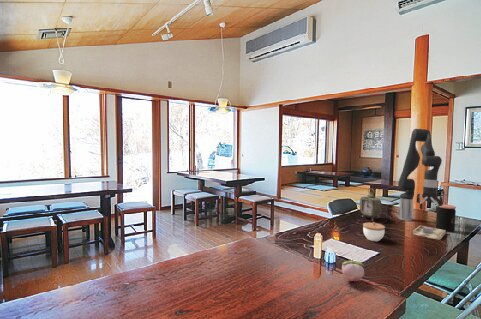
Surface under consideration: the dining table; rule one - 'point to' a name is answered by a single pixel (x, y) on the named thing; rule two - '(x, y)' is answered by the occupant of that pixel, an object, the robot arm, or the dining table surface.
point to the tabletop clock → (370, 205)
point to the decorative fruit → (352, 270)
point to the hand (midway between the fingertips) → (429, 210)
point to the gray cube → (428, 230)
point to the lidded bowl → (373, 231)
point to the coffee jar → (446, 218)
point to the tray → (436, 234)
